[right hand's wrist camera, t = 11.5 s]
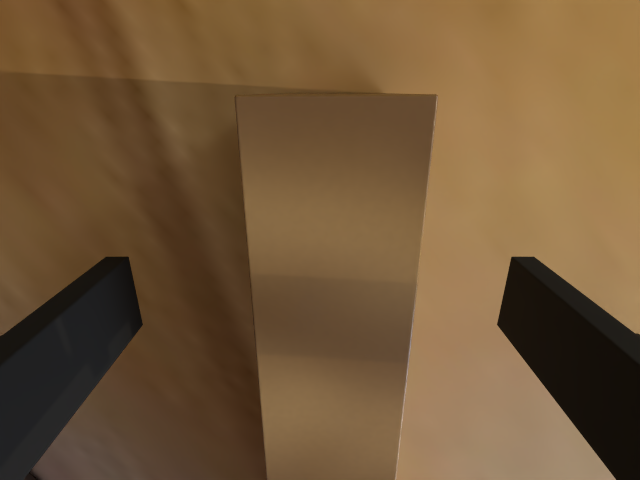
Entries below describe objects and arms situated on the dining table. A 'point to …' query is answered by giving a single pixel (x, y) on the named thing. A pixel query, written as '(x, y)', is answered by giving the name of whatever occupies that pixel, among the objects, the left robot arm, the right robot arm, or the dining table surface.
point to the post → (334, 272)
